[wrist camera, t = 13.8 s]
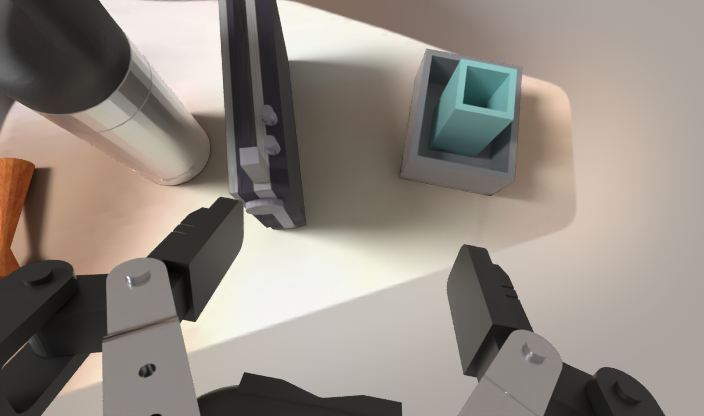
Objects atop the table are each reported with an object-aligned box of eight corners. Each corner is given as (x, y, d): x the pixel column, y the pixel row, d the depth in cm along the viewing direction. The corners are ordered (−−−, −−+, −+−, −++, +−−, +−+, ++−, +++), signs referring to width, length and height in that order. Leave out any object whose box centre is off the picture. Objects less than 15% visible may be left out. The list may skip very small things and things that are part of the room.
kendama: (30, 150, 38) (3, 336, 32) (60, 173, 44) (42, 336, 37) (-37, 153, 37) (-78, 349, 30) (3, 176, 42) (-25, 346, 36)
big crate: (490, 195, 43) (514, 180, 38) (399, 178, 43) (409, 160, 38) (499, 94, 47) (522, 67, 41) (415, 78, 47) (426, 48, 41)
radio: (249, 63, 46) (188, -100, 27) (288, 60, 47) (254, -103, 27) (263, 236, 41) (198, 187, 21) (307, 231, 41) (281, 178, 22)
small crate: (473, 157, 44) (513, 119, 34) (428, 149, 44) (455, 108, 34) (478, 116, 45) (517, 69, 35) (434, 108, 45) (461, 58, 35)
